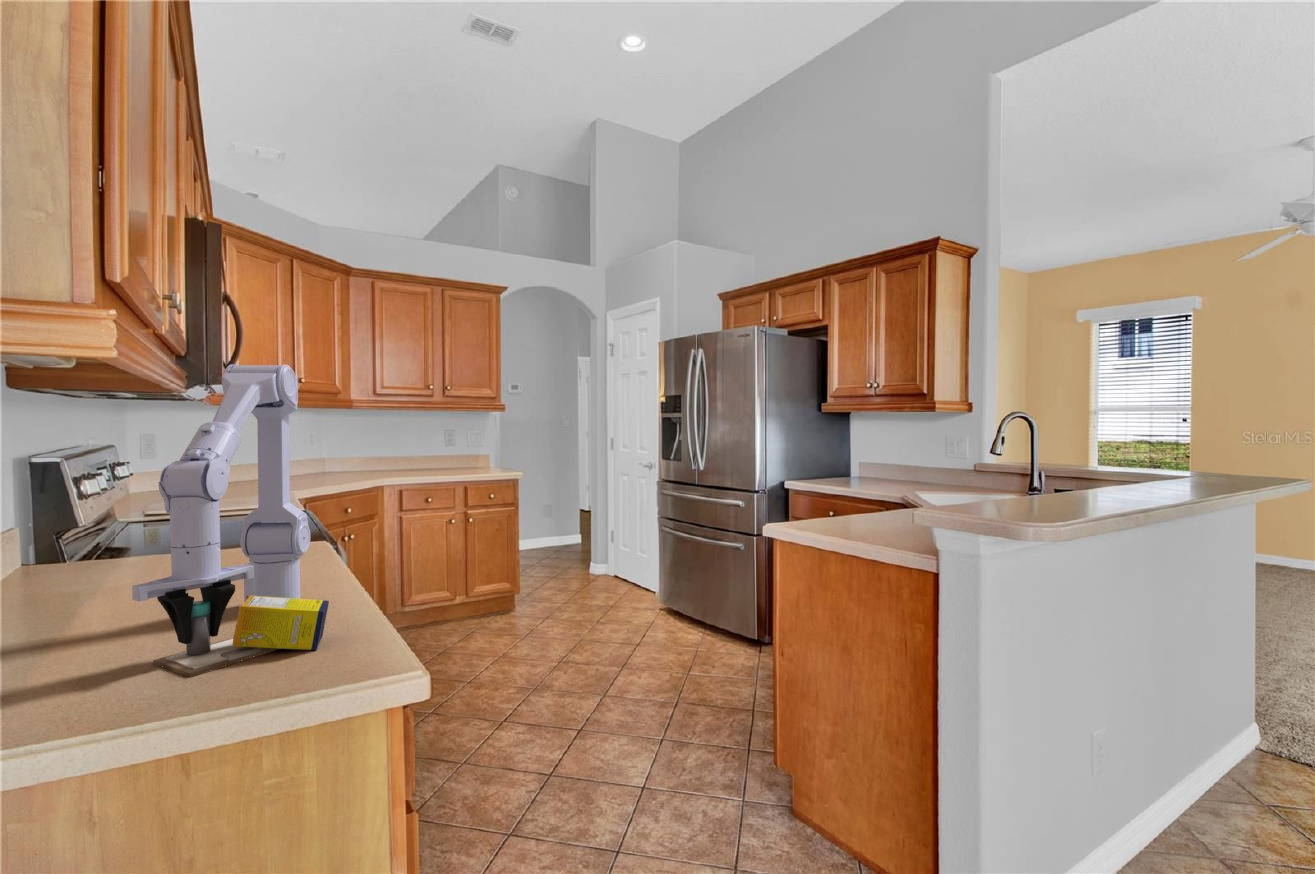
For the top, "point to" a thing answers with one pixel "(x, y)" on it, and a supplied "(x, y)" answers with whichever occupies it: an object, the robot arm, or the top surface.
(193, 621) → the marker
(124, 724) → the top surface
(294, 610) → the supplement box
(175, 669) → the clipboard
